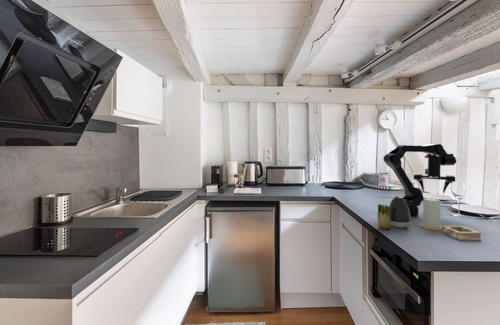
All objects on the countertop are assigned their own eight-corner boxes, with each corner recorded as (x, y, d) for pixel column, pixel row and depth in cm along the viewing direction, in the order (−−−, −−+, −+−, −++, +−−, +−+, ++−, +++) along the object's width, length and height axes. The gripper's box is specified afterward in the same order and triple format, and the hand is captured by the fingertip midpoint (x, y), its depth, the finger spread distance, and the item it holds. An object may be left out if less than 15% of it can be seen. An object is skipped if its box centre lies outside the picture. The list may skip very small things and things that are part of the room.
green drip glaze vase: (375, 226, 117) (376, 203, 117) (385, 226, 117) (386, 203, 116) (382, 230, 112) (382, 206, 111) (392, 230, 111) (393, 206, 111)
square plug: (422, 223, 118) (423, 198, 117) (433, 223, 117) (434, 198, 116) (428, 226, 113) (429, 200, 113) (439, 227, 112) (440, 200, 112)
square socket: (442, 232, 108) (442, 225, 108) (461, 231, 108) (461, 225, 108) (459, 240, 99) (459, 233, 99) (480, 239, 99) (480, 232, 99)
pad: (417, 227, 115) (418, 226, 115) (419, 222, 122) (419, 220, 122) (444, 232, 108) (444, 230, 108) (444, 226, 116) (444, 224, 116)
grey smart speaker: (406, 223, 121) (407, 194, 120) (413, 230, 111) (414, 199, 110) (384, 222, 124) (384, 194, 123) (389, 228, 114) (389, 198, 113)
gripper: (454, 165, 135) (453, 191, 136) (415, 164, 146) (414, 188, 148) (455, 166, 126) (454, 195, 127) (414, 165, 138) (413, 191, 139)
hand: (433, 192), depth 135 cm, fingers open, 9 cm apart
